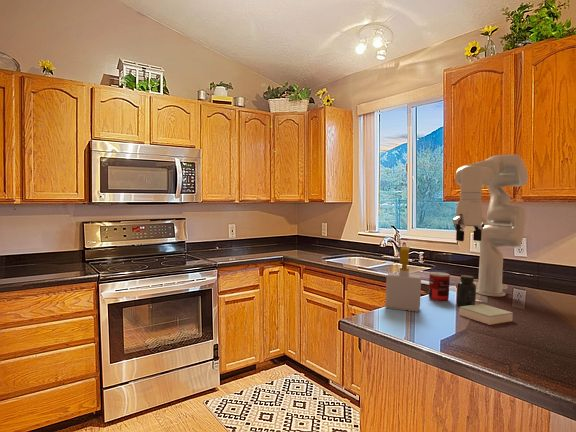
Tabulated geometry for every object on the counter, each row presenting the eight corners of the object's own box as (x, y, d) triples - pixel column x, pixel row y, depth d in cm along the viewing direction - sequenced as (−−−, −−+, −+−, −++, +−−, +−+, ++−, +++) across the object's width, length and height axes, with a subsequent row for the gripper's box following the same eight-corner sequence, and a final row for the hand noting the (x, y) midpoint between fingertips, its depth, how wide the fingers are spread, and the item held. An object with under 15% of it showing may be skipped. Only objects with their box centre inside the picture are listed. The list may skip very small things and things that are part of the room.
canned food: (432, 296, 167) (433, 271, 167) (451, 299, 162) (452, 273, 162) (425, 299, 162) (426, 273, 161) (445, 302, 156) (446, 276, 156)
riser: (481, 311, 144) (482, 303, 144) (512, 321, 133) (512, 312, 133) (459, 314, 139) (459, 306, 139) (489, 324, 128) (489, 315, 128)
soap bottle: (419, 308, 147) (422, 247, 146) (418, 312, 140) (421, 249, 140) (387, 304, 151) (389, 245, 150) (385, 308, 145) (387, 246, 144)
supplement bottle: (452, 304, 154) (453, 274, 154) (465, 303, 156) (466, 274, 156) (465, 309, 147) (467, 278, 147) (479, 307, 150) (480, 277, 150)
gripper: (477, 198, 158) (475, 239, 158) (447, 196, 150) (445, 240, 151) (494, 198, 151) (492, 241, 151) (463, 196, 143) (461, 242, 144)
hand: (468, 240), depth 151 cm, fingers open, 9 cm apart
